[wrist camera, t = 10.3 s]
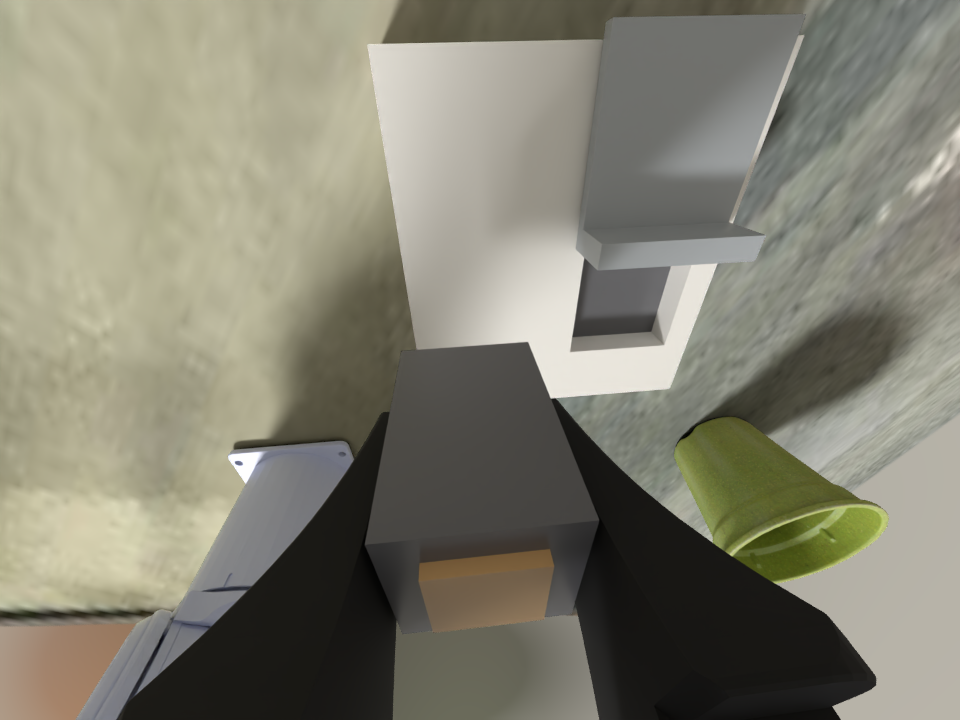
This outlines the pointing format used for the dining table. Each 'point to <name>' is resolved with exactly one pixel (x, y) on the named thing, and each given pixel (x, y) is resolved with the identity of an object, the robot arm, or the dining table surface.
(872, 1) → the dining table surface
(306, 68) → the dining table surface
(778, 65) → the shutter
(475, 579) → the grey rectangular block
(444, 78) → the socket board
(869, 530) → the plant pot
